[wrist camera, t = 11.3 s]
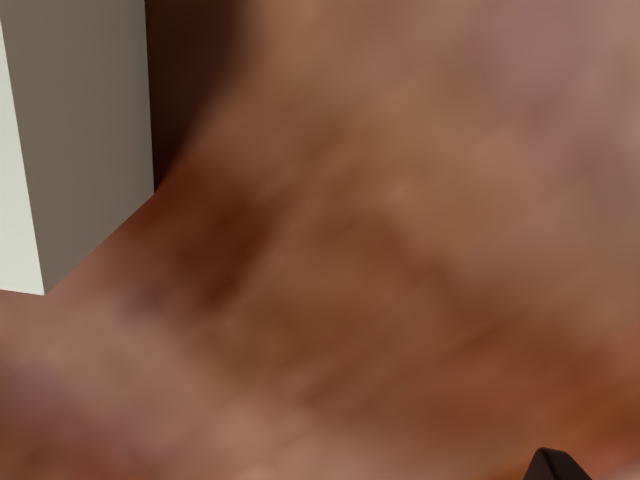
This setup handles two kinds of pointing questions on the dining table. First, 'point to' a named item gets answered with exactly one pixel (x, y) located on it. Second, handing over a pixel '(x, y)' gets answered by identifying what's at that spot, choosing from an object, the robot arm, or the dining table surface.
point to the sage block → (69, 132)
